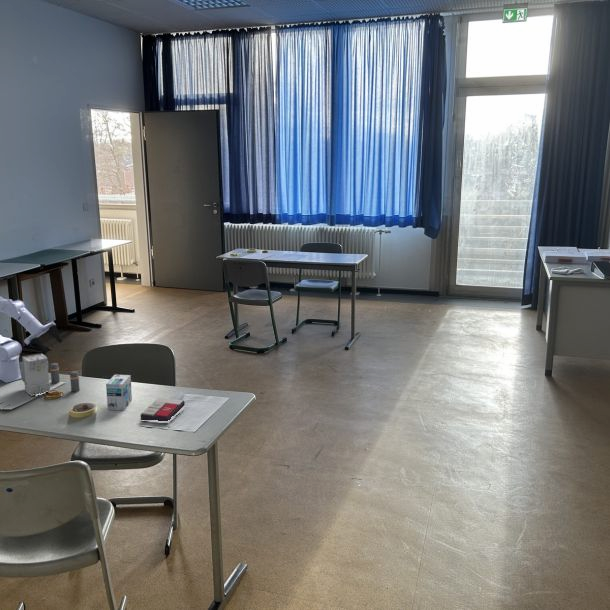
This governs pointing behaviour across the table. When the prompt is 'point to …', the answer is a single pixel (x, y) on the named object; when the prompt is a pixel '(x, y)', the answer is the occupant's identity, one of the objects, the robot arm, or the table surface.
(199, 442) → the table surface
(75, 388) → the post
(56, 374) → the left cable post
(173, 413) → the red black flat box
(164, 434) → the table surface
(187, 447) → the table surface
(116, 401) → the light bulb box
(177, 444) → the table surface
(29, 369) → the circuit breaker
